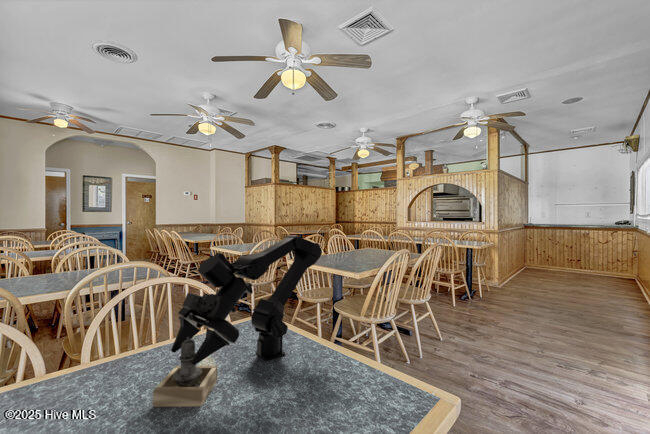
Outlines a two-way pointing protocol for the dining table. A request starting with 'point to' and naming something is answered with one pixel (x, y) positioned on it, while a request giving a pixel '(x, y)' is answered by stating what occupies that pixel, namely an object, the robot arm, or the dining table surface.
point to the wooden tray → (184, 389)
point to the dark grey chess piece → (188, 366)
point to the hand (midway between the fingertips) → (182, 357)
